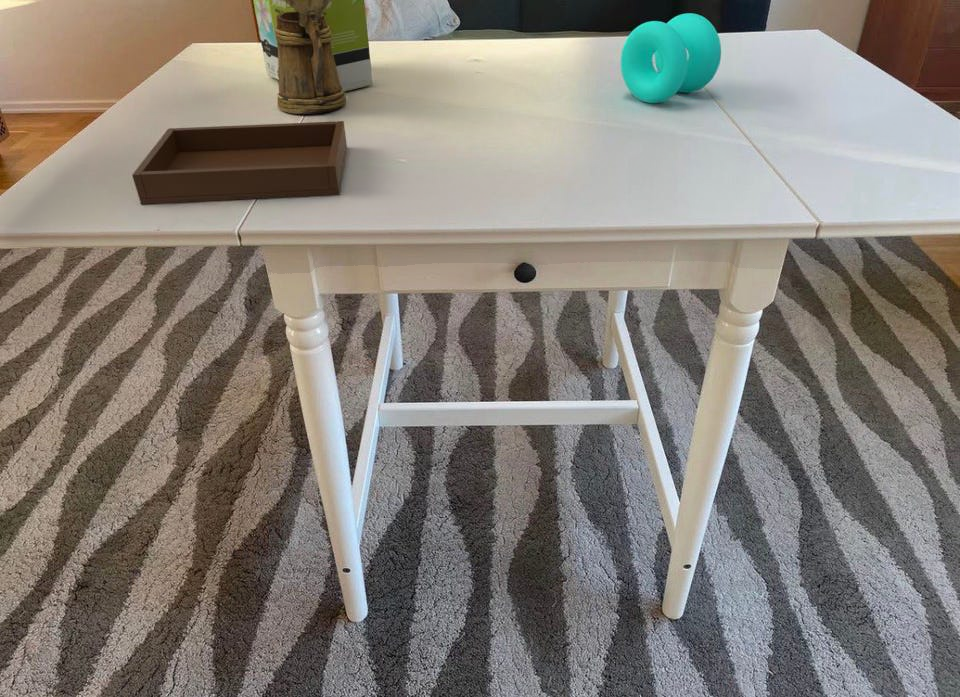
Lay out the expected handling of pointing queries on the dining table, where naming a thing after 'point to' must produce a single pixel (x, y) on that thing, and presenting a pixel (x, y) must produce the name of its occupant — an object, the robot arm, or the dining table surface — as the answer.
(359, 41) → the tea box
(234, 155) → the serving tray
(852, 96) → the dining table surface
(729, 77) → the dining table surface
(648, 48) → the donuts
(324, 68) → the wooden mug
